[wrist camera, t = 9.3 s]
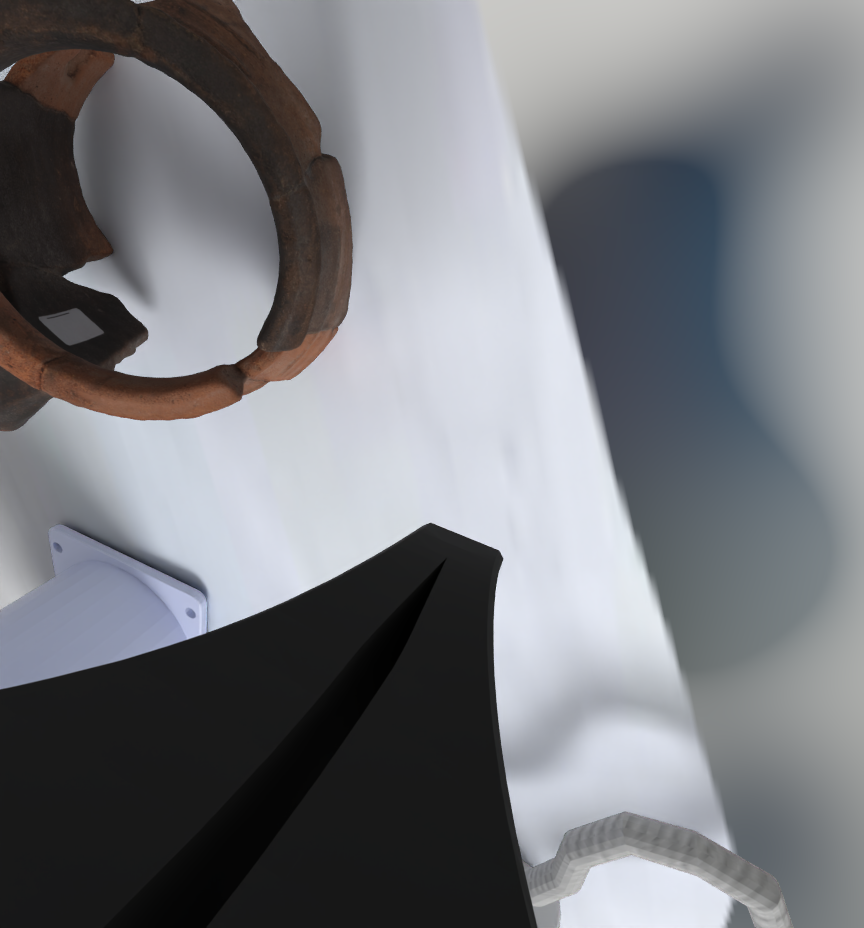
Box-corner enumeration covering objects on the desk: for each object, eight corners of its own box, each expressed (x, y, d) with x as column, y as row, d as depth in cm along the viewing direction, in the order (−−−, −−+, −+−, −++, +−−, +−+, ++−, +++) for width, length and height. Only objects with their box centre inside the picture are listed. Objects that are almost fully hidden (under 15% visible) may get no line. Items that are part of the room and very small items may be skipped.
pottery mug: (128, -97, 13) (-90, -344, 6) (413, 194, 18) (470, 236, 11) (-72, 285, 17) (-355, 396, 10) (207, 448, 21) (149, 605, 14)
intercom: (890, 1100, 14) (281, 1012, 26) (840, 913, 17) (327, 914, 30) (628, 706, 12) (106, 814, 24) (634, 588, 15) (178, 735, 28)
